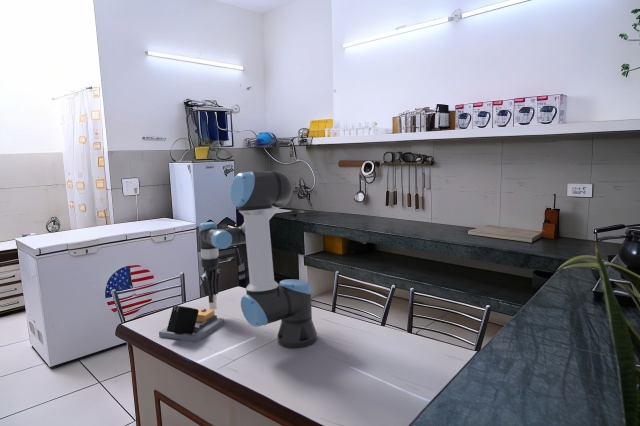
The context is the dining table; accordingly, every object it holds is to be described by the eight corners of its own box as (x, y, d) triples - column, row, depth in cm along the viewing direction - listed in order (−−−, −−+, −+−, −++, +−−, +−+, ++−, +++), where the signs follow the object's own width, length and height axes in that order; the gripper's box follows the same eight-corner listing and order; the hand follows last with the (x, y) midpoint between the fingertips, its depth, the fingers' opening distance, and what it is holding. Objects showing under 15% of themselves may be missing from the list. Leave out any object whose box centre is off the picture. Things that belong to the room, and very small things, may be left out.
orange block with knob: (214, 316, 178) (214, 308, 177) (205, 322, 172) (205, 314, 171) (199, 315, 180) (198, 307, 180) (189, 320, 174) (189, 312, 174)
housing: (224, 323, 176) (223, 316, 175) (196, 341, 158) (196, 333, 158) (189, 319, 182) (188, 312, 181) (159, 336, 164) (158, 328, 164)
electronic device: (192, 334, 165) (199, 309, 167) (173, 333, 157) (180, 306, 159) (185, 332, 167) (192, 307, 170) (166, 330, 159) (173, 305, 161)
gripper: (211, 253, 188) (214, 303, 191) (193, 260, 176) (197, 313, 179) (225, 254, 185) (228, 304, 188) (208, 261, 173) (211, 314, 176)
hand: (213, 308), depth 184 cm, fingers closed
